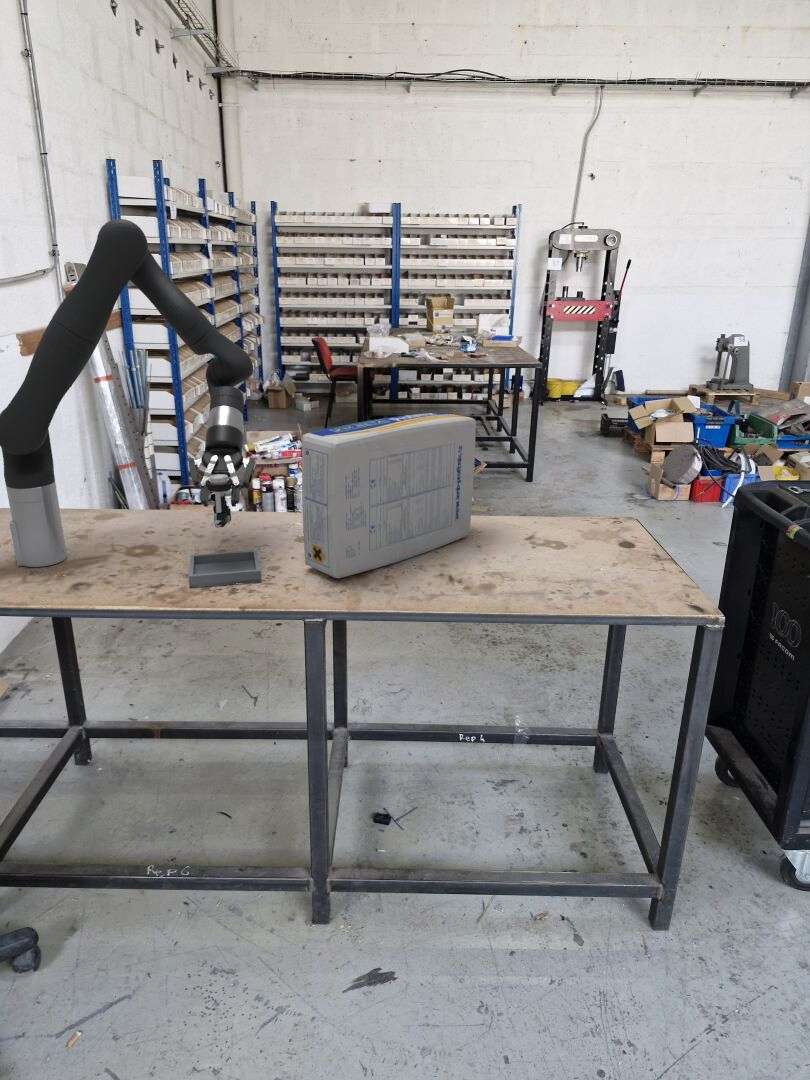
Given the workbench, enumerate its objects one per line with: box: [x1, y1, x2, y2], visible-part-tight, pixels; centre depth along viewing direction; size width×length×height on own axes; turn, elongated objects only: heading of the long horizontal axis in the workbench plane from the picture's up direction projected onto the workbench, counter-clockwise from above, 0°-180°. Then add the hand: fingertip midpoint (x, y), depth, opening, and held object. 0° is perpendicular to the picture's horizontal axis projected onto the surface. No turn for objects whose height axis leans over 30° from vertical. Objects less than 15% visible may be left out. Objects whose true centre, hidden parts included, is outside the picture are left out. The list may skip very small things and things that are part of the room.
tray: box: [188, 549, 262, 589], centre depth 148 cm, size 14×12×2 cm
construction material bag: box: [301, 411, 477, 579], centre depth 157 cm, size 43×12×30 cm, turn 135°
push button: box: [205, 474, 233, 529], centre depth 143 cm, size 7×5×10 cm
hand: (219, 504), depth 142 cm, fingers closed on push button, 5 cm apart
